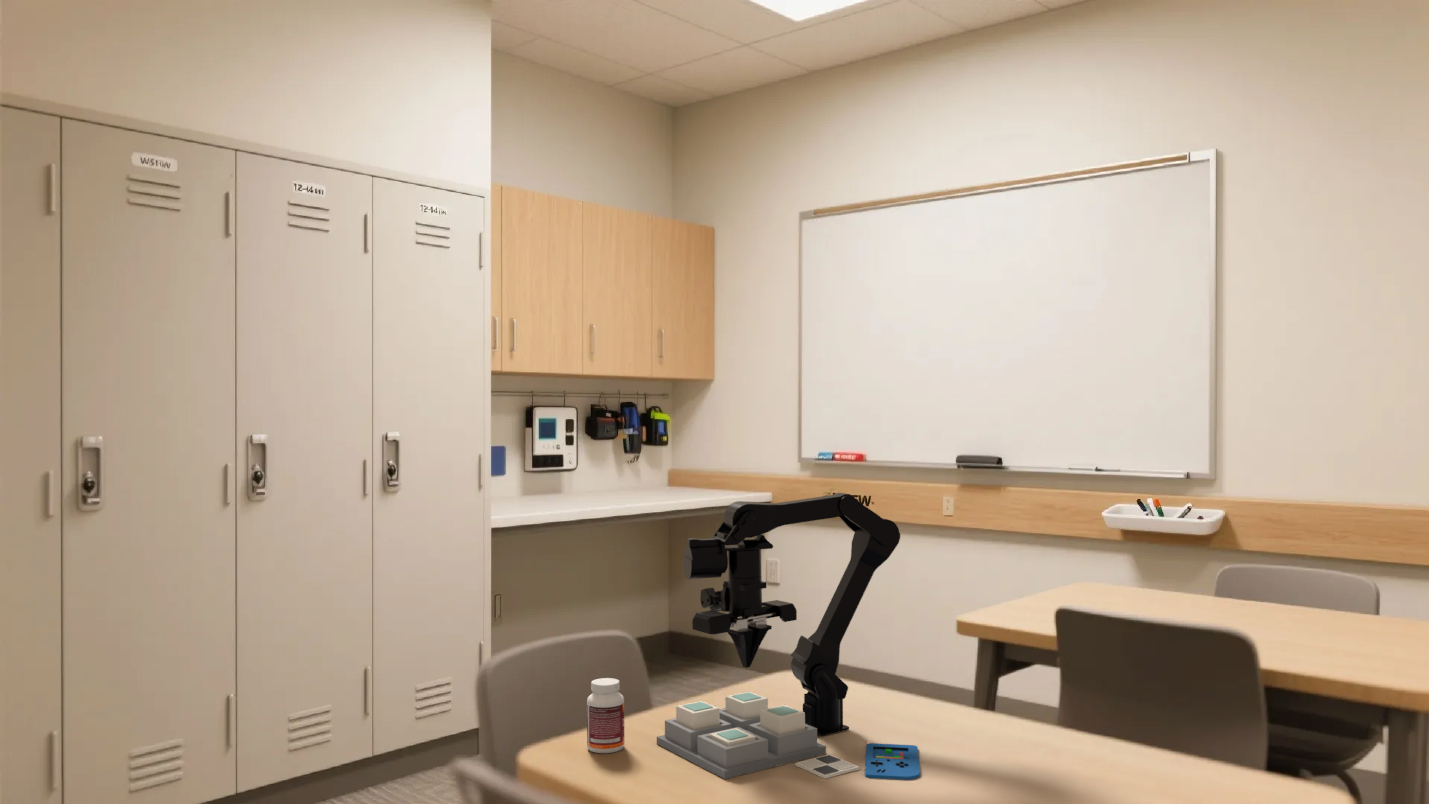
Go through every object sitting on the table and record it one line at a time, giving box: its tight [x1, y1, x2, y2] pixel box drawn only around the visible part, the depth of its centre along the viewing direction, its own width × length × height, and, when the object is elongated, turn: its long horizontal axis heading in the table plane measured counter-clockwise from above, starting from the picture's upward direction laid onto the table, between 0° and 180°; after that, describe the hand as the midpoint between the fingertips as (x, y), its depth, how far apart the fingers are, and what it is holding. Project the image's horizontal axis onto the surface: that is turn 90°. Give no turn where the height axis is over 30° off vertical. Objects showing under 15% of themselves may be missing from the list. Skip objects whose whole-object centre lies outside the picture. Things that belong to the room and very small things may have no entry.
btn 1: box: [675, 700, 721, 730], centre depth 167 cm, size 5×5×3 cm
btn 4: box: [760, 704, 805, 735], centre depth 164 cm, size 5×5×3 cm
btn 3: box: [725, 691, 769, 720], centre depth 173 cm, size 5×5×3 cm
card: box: [795, 754, 860, 780], centre depth 157 cm, size 7×7×1 cm
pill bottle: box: [586, 677, 625, 754], centre depth 166 cm, size 6×6×11 cm
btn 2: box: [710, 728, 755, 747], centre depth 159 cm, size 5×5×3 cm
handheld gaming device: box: [864, 742, 921, 781], centre depth 159 cm, size 8×1×15 cm
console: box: [656, 707, 827, 780], centre depth 166 cm, size 20×20×4 cm
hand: (746, 667), depth 172 cm, fingers closed
